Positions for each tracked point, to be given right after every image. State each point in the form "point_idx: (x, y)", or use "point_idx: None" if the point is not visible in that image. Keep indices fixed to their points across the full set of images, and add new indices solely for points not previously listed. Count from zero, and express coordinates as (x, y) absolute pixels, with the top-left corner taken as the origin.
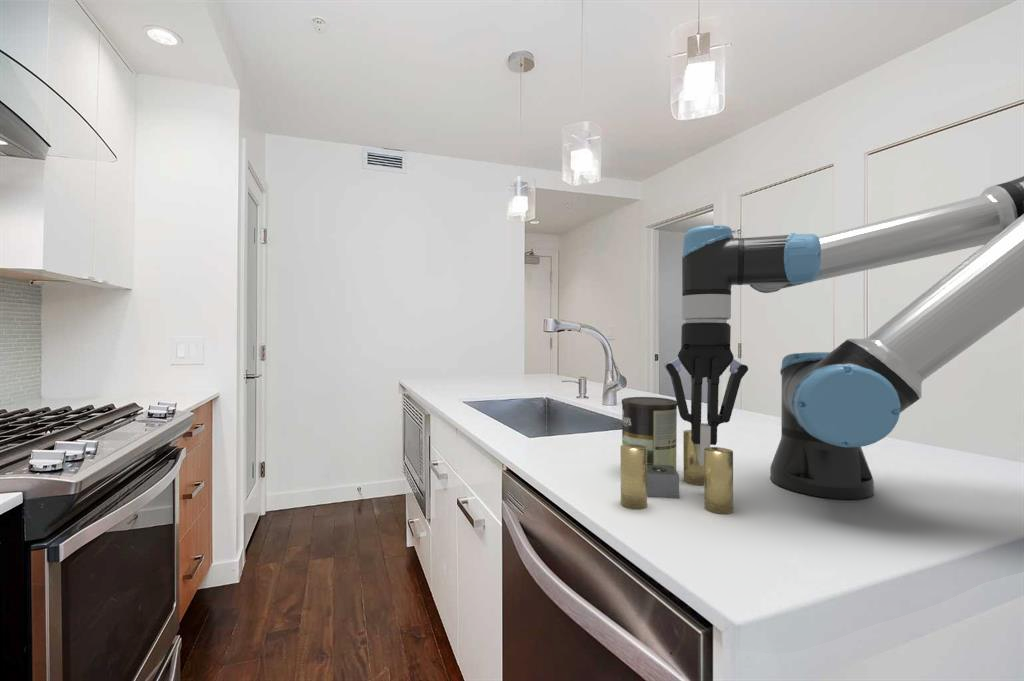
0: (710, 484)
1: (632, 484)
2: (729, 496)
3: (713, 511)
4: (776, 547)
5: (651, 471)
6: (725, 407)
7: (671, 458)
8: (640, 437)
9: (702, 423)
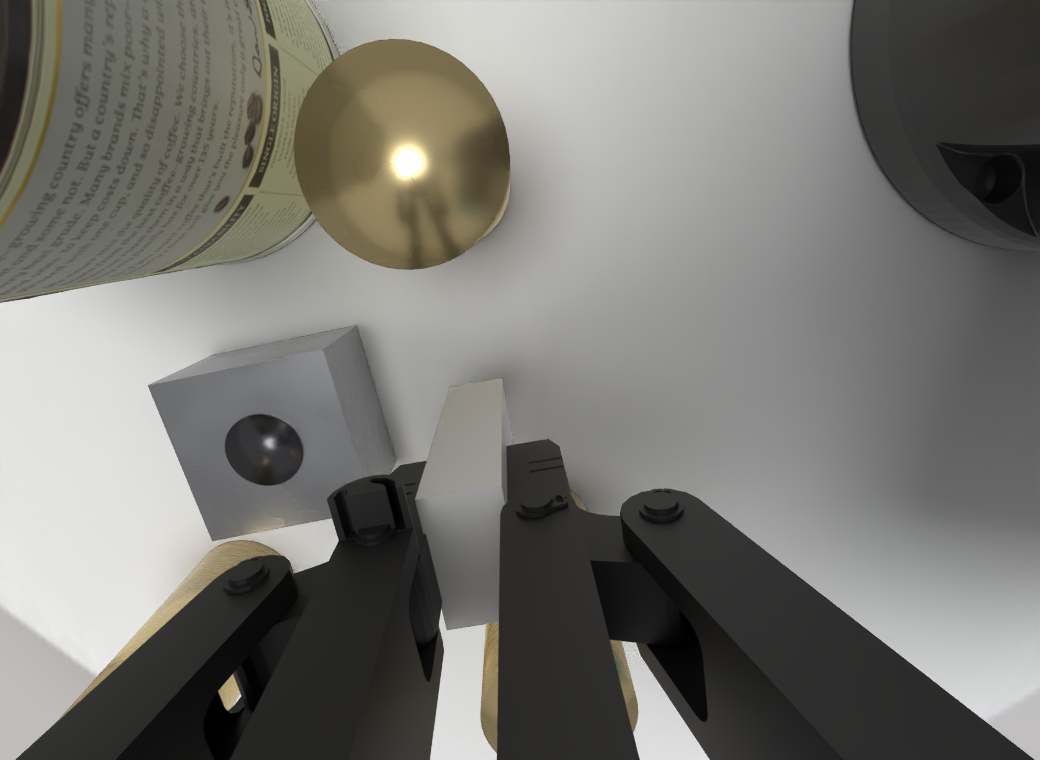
0: None
1: None
2: None
3: None
4: (667, 739)
5: (237, 499)
6: (711, 750)
7: (289, 187)
8: None
9: (458, 503)
